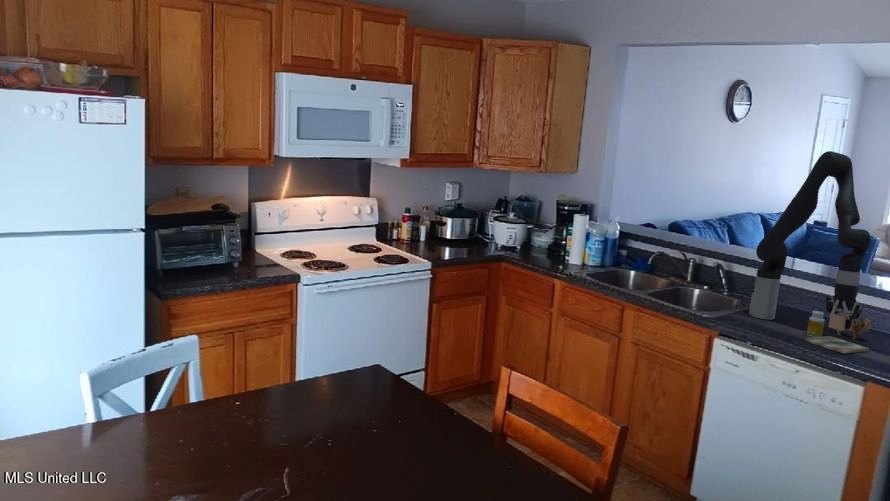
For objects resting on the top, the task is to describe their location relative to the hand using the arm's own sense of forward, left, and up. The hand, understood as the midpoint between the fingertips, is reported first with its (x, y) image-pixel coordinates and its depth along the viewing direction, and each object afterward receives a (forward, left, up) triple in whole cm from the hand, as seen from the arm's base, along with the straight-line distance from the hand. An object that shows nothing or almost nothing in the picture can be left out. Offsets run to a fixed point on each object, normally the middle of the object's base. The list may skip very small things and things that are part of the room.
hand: (840, 327), depth 265 cm
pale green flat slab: (0, 0, -7) cm, 7 cm away
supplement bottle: (-12, +3, -7) cm, 15 cm away
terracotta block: (0, 0, 0) cm, 0 cm away
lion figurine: (-8, +18, -7) cm, 21 cm away
